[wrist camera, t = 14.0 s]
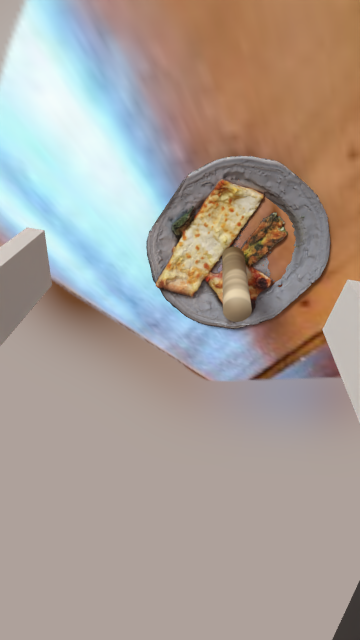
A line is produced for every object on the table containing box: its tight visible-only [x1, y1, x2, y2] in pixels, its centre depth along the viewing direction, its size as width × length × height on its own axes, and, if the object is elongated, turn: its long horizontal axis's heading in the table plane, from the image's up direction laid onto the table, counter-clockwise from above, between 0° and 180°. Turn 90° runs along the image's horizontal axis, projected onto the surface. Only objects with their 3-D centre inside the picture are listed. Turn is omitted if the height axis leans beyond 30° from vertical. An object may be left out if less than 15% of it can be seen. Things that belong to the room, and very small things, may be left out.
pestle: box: [222, 247, 252, 322], centre depth 39 cm, size 3×3×13 cm
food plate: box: [147, 156, 330, 329], centre depth 45 cm, size 25×23×4 cm
